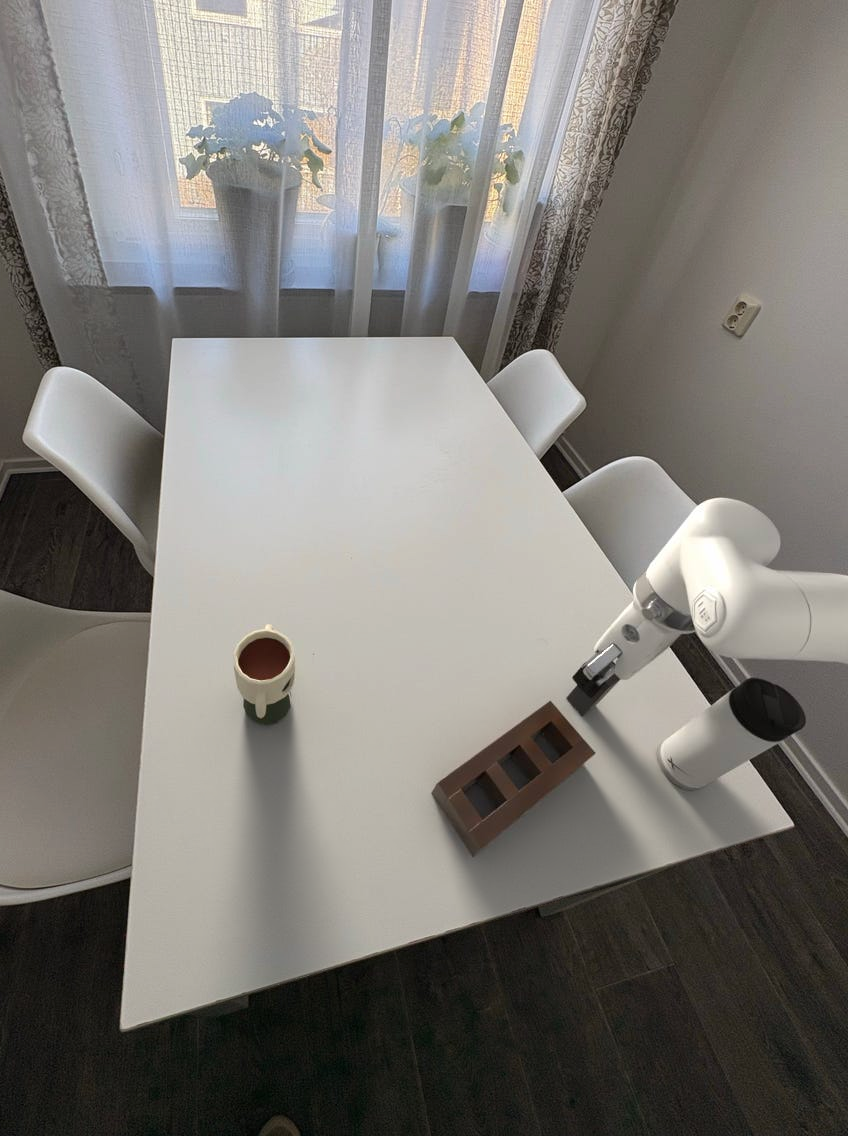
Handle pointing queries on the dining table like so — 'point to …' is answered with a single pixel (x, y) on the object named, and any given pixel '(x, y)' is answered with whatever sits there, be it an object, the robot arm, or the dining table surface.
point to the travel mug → (730, 733)
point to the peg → (586, 704)
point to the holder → (501, 786)
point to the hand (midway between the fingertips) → (607, 669)
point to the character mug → (265, 674)
